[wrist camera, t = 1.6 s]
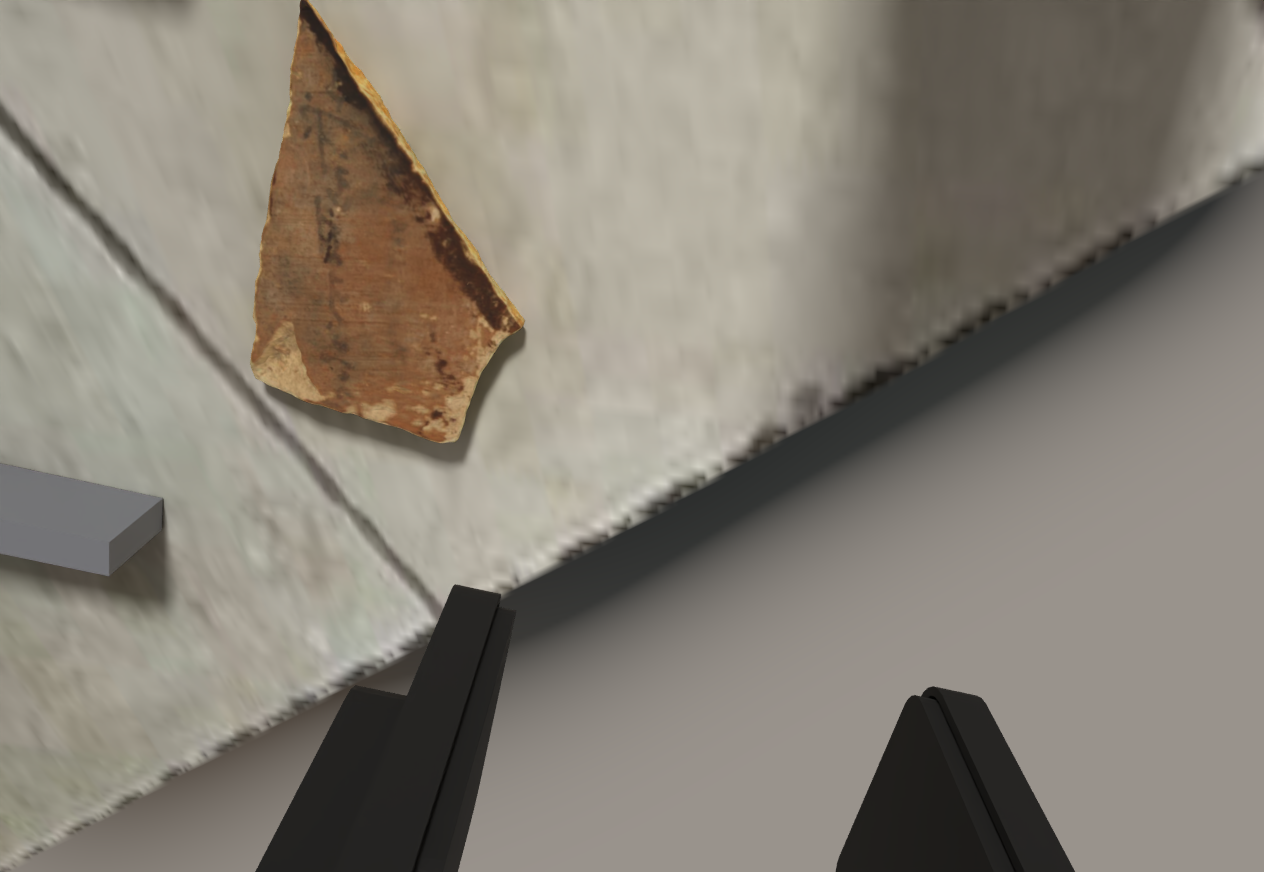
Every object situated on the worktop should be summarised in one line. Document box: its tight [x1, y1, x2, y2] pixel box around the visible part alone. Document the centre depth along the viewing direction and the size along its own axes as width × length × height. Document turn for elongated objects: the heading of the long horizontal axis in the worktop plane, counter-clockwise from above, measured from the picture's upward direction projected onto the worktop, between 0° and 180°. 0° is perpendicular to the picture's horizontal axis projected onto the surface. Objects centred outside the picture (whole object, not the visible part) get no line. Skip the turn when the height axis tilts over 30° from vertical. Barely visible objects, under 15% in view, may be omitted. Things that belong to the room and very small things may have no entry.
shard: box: [250, 0, 525, 443], centre depth 25 cm, size 11×8×2 cm
